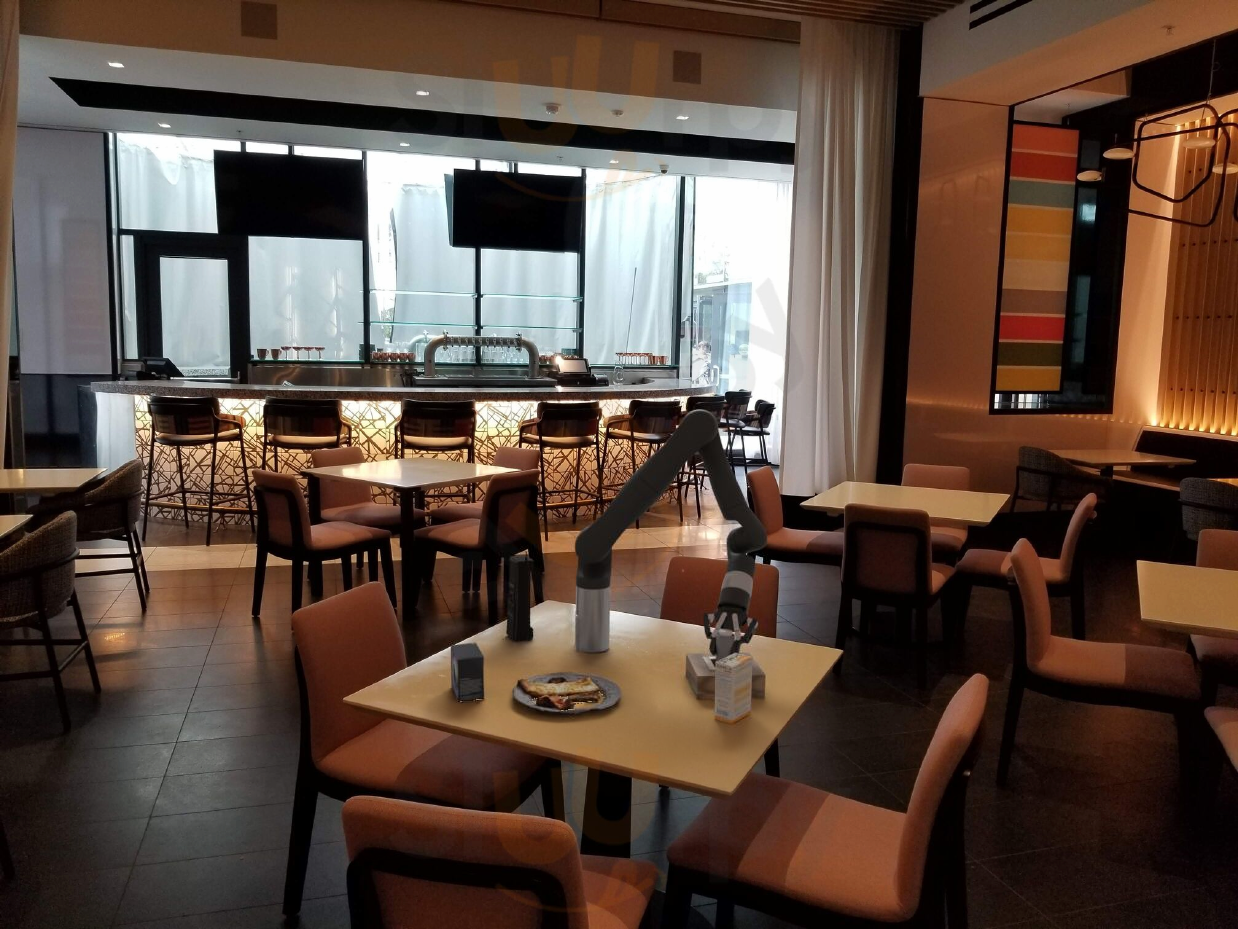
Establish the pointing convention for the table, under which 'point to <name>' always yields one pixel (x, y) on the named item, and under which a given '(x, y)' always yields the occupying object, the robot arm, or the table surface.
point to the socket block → (703, 675)
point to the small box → (467, 672)
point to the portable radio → (519, 598)
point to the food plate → (565, 691)
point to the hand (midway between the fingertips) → (723, 655)
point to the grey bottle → (724, 643)
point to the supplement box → (733, 687)
